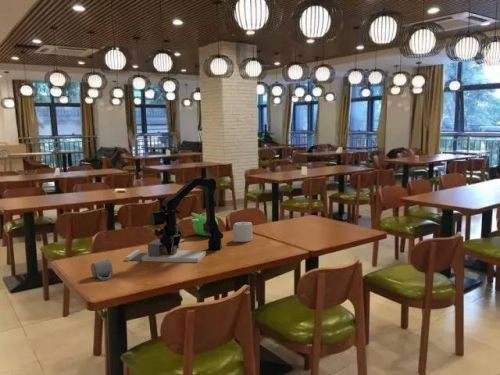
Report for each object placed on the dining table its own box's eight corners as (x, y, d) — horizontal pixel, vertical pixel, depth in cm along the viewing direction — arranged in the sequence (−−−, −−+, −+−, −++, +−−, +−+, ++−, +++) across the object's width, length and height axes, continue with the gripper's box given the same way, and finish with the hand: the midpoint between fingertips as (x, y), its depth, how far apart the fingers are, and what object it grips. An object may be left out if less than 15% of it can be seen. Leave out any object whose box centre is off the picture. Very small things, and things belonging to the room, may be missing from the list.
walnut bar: (176, 252, 233) (176, 245, 232) (173, 255, 228) (173, 247, 228) (151, 252, 235) (151, 245, 235) (148, 254, 231) (147, 247, 230)
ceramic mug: (90, 276, 205) (89, 260, 204) (108, 272, 209) (107, 256, 208) (97, 282, 196) (96, 265, 195) (115, 278, 201) (114, 262, 200)
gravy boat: (219, 237, 273) (218, 213, 271) (192, 239, 270) (191, 215, 268) (217, 231, 290) (216, 209, 289) (191, 233, 288) (190, 210, 286)
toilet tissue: (254, 237, 268) (253, 221, 267) (250, 242, 257) (249, 225, 256) (237, 237, 271) (236, 221, 269) (232, 242, 259) (231, 225, 258)
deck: (206, 254, 235) (205, 250, 235) (198, 262, 221) (198, 258, 221) (137, 253, 242) (137, 249, 242) (125, 260, 228) (125, 257, 228)
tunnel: (167, 251, 237) (166, 239, 236) (159, 256, 226) (158, 244, 226) (156, 250, 238) (155, 239, 237) (148, 256, 227) (147, 244, 227)
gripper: (162, 219, 239) (164, 247, 241) (149, 226, 221) (150, 256, 223) (182, 219, 237) (183, 247, 239) (170, 226, 219) (171, 257, 221)
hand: (172, 252), depth 231 cm, fingers open, 9 cm apart
